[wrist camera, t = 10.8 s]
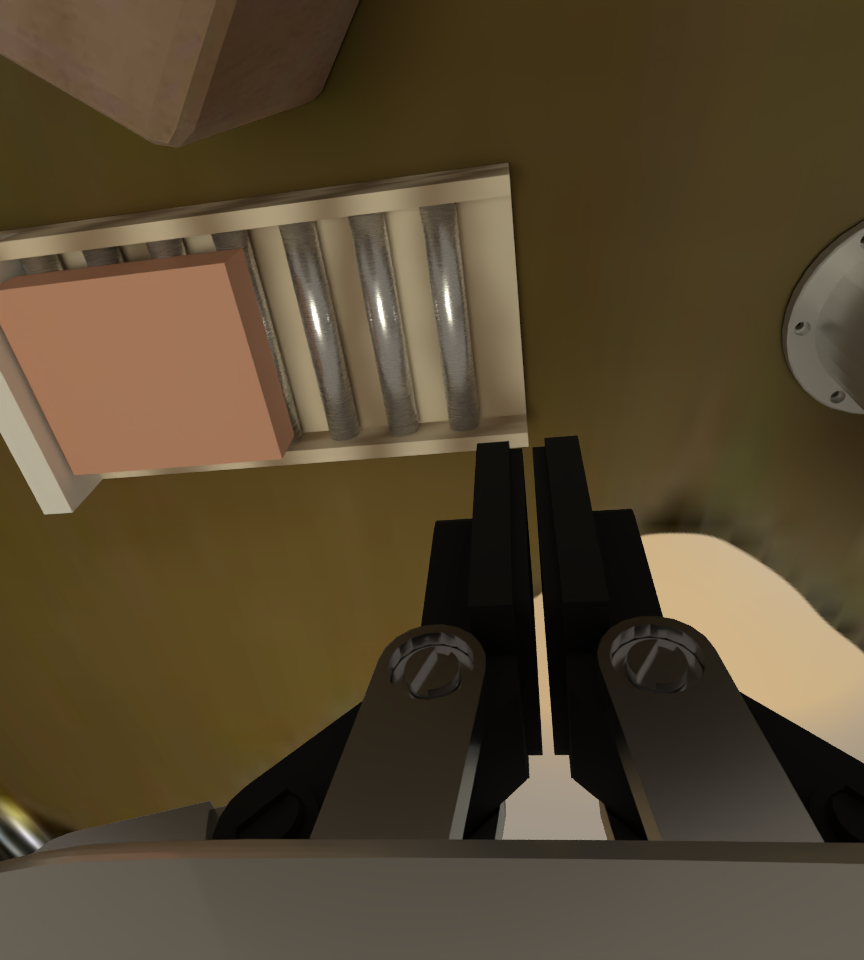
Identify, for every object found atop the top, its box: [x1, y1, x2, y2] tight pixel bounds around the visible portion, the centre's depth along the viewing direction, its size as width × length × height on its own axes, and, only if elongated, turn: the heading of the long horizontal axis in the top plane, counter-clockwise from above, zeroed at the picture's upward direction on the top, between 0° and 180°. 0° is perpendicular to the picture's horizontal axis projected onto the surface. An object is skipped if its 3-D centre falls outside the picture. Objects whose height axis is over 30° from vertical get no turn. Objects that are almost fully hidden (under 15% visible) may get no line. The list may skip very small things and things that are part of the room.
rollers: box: [20, 203, 480, 444], centre depth 42 cm, size 26×14×2 cm, turn 98°
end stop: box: [0, 233, 103, 514], centre depth 43 cm, size 2×16×6 cm, turn 8°
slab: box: [0, 248, 294, 475], centre depth 41 cm, size 14×12×3 cm
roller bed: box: [0, 162, 529, 479], centre depth 43 cm, size 32×16×4 cm, turn 98°
